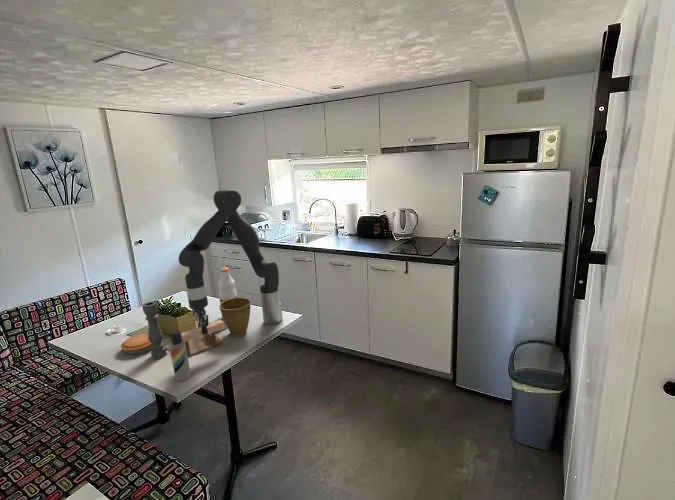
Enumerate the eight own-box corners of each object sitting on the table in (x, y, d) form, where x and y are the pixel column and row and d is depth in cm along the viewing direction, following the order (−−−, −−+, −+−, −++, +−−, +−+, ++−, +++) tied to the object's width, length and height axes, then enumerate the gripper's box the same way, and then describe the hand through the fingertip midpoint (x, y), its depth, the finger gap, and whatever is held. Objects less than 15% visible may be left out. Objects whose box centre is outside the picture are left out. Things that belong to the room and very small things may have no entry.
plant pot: (221, 330, 184) (216, 301, 180) (249, 323, 190) (246, 295, 186) (226, 343, 171) (222, 311, 167) (257, 334, 177) (253, 304, 173)
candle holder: (151, 360, 159) (141, 307, 153) (151, 354, 164) (141, 303, 158) (167, 356, 161) (157, 304, 155) (166, 350, 167) (157, 300, 161)
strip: (221, 325, 164) (220, 319, 164) (225, 328, 162) (224, 321, 161) (181, 339, 153) (180, 333, 153) (184, 342, 151) (182, 336, 150)
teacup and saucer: (104, 335, 187) (102, 327, 186) (118, 328, 194) (116, 321, 193) (116, 337, 184) (114, 330, 183) (129, 330, 191) (128, 323, 190)
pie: (163, 347, 170) (161, 337, 169) (127, 360, 160) (125, 350, 159) (152, 337, 181) (150, 328, 180) (118, 349, 171) (116, 339, 170)
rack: (213, 334, 181) (211, 321, 179) (224, 344, 170) (222, 330, 168) (171, 348, 169) (169, 334, 167) (180, 359, 158) (177, 345, 156)
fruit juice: (219, 317, 200) (212, 269, 194) (234, 311, 207) (228, 265, 200) (227, 321, 194) (220, 272, 187) (242, 316, 200) (236, 268, 193)
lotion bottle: (178, 374, 147) (170, 329, 142) (192, 372, 148) (185, 328, 143) (173, 382, 142) (164, 336, 137) (188, 380, 142) (180, 334, 137)
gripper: (211, 297, 150) (217, 335, 154) (200, 289, 161) (206, 324, 165) (193, 303, 145) (200, 341, 150) (183, 294, 156) (189, 330, 161)
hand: (203, 332), depth 157 cm, fingers closed on strip, 3 cm apart
